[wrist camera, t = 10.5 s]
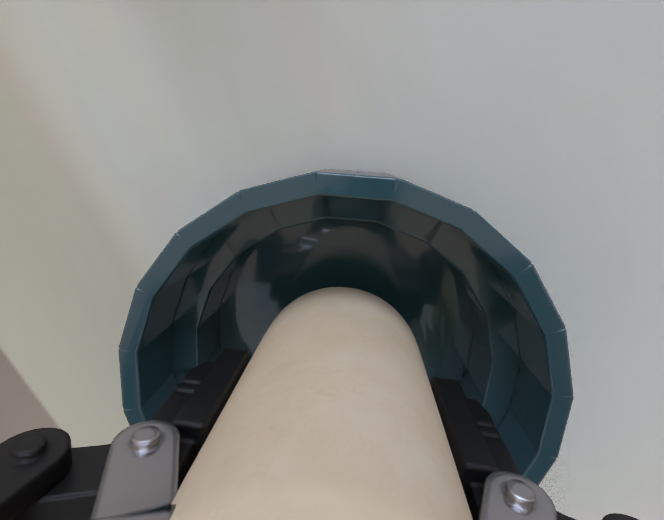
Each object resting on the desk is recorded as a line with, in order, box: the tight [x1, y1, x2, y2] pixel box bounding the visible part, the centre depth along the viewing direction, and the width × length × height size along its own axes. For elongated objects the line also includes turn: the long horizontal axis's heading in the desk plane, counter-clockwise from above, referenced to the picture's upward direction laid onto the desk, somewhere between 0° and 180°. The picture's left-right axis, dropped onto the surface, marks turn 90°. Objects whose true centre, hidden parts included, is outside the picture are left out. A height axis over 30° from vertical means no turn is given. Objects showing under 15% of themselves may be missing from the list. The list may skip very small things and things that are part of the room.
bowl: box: [119, 169, 573, 485], centre depth 14 cm, size 13×13×5 cm
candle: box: [170, 287, 473, 520], centre depth 9 cm, size 6×6×10 cm
